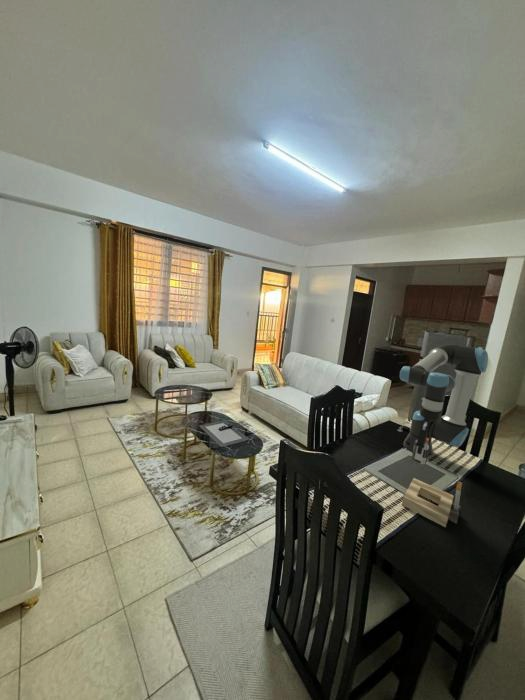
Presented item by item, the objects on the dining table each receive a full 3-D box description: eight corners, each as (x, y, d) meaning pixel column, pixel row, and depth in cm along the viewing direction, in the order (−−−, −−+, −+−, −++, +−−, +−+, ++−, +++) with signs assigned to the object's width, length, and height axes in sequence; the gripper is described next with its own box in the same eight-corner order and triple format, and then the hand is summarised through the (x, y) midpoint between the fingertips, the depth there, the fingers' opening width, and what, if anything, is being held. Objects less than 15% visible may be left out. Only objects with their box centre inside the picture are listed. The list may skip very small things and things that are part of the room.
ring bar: (453, 510, 115) (458, 479, 113) (457, 511, 115) (462, 480, 113) (452, 514, 113) (457, 483, 111) (456, 516, 112) (461, 485, 110)
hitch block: (411, 485, 132) (413, 477, 131) (459, 507, 120) (462, 499, 119) (401, 504, 118) (403, 496, 117) (454, 532, 106) (457, 523, 106)
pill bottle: (428, 465, 121) (433, 442, 119) (413, 462, 122) (418, 439, 120) (423, 458, 127) (429, 435, 125) (409, 455, 128) (414, 433, 126)
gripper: (426, 401, 129) (416, 446, 134) (415, 410, 115) (404, 460, 120) (445, 406, 124) (433, 453, 129) (436, 417, 110) (423, 469, 115)
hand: (419, 456), depth 124 cm, fingers closed on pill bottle, 6 cm apart
